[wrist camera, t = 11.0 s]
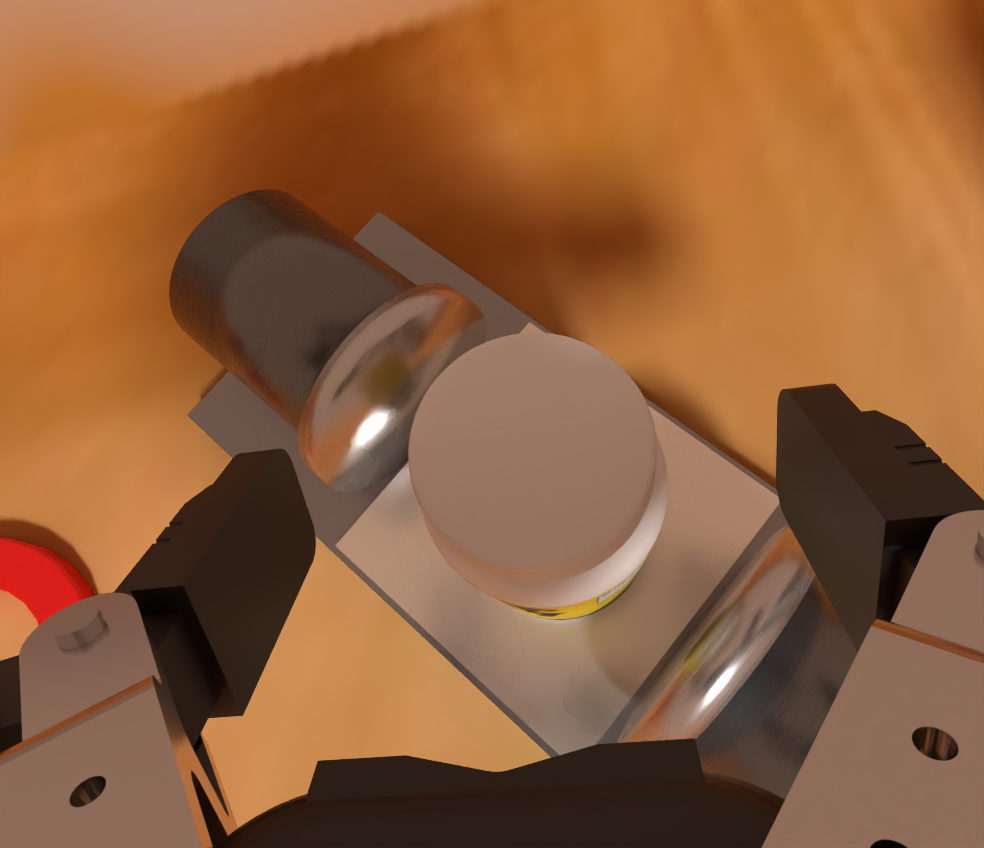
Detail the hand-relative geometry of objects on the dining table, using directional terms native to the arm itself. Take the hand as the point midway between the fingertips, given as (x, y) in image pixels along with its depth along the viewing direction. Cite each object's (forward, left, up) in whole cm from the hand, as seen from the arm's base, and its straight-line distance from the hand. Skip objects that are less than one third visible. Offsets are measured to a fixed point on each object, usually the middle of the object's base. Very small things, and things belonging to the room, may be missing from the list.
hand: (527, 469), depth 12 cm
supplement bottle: (0, 0, -8) cm, 8 cm away
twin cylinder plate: (0, 0, -9) cm, 9 cm away
